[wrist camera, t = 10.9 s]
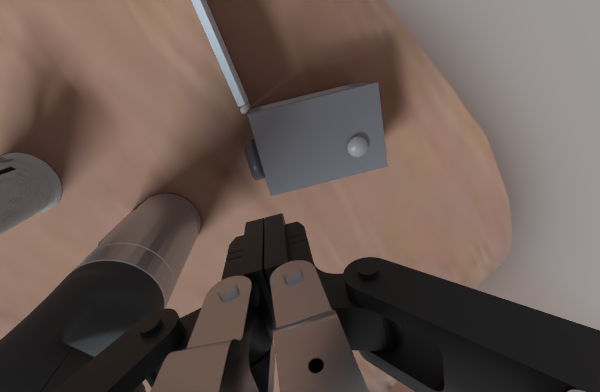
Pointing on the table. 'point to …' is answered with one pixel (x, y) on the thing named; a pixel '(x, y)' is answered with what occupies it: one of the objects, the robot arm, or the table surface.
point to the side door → (221, 53)
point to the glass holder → (25, 188)
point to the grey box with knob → (317, 137)
